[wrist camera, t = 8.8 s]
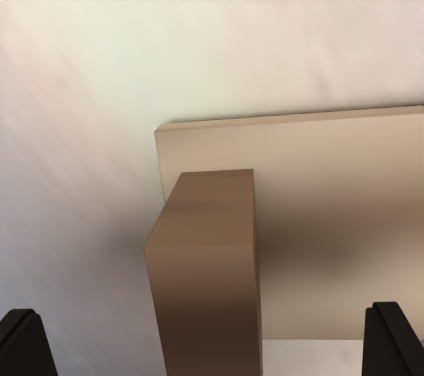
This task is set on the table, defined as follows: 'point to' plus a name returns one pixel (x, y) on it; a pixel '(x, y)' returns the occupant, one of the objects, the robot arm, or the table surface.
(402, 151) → the strip
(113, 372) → the table surface
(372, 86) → the table surface
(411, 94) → the table surface
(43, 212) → the table surface
